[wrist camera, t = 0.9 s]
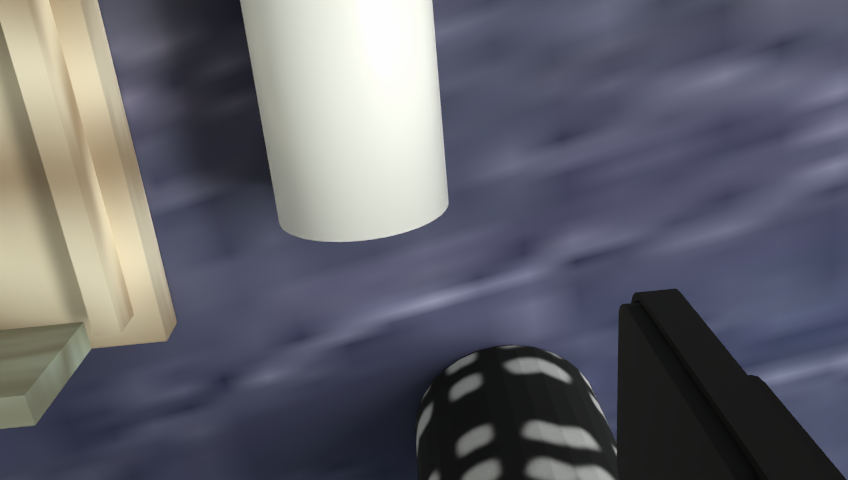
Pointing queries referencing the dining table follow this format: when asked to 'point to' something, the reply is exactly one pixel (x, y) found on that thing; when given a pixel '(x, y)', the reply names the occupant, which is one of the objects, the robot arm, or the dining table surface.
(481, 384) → the spotted tube
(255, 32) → the roll
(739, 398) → the robot arm
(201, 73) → the dining table surface
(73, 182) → the holder
